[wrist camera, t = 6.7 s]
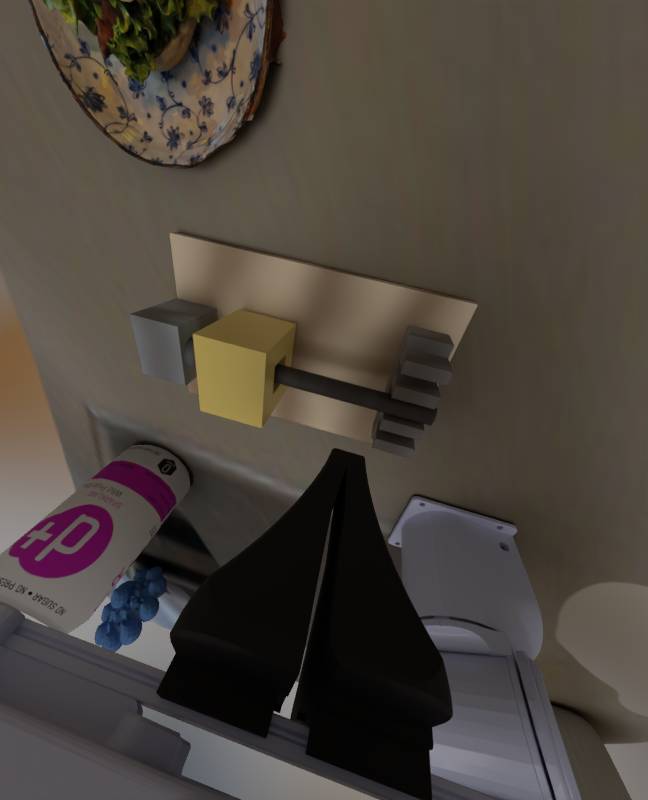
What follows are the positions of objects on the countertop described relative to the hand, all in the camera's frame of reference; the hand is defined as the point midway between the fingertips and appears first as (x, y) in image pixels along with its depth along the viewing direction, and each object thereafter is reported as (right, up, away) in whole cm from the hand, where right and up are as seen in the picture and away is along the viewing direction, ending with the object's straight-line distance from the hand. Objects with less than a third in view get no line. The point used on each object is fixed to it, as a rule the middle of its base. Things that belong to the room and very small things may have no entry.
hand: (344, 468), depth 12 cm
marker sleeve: (-5, +6, +8) cm, 11 cm away
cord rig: (-2, +6, +8) cm, 11 cm away
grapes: (-30, -26, +37) cm, 54 cm away
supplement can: (-20, -5, +21) cm, 29 cm away
